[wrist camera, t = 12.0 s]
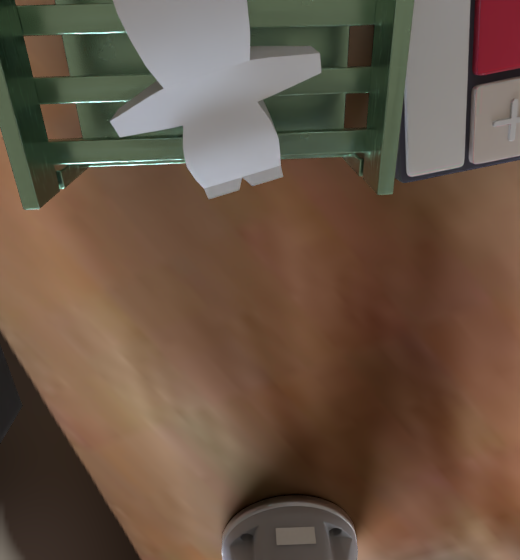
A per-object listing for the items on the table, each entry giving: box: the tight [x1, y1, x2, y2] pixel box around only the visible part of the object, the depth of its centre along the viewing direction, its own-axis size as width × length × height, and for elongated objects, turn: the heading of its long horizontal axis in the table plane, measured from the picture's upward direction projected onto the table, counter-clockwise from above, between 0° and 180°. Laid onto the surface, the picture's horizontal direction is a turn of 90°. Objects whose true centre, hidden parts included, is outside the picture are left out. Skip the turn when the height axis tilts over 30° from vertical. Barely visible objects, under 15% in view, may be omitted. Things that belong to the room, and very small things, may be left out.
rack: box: [0, 0, 414, 210], centre depth 23 cm, size 16×18×11 cm
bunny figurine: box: [110, 0, 321, 199], centre depth 19 cm, size 10×5×15 cm
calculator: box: [395, 0, 520, 183], centre depth 29 cm, size 11×4×15 cm
